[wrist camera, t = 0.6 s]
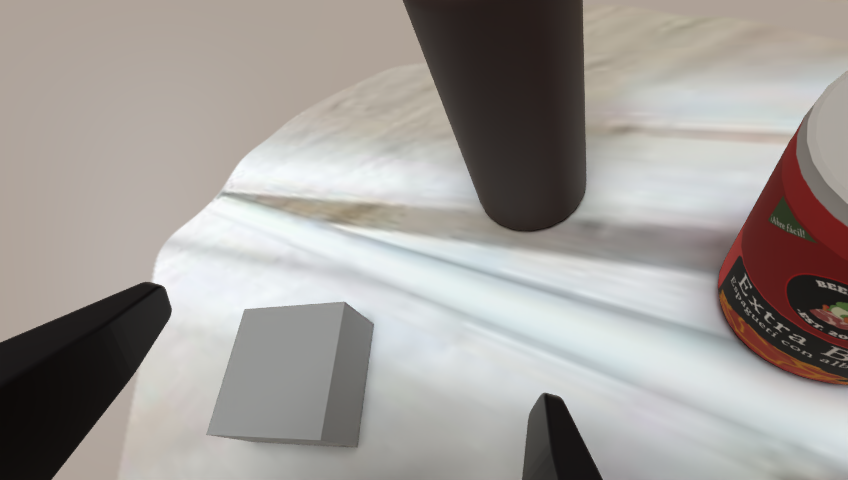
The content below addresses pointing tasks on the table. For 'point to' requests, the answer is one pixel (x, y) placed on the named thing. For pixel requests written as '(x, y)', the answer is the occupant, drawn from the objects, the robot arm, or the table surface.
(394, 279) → the table surface
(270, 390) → the slate block
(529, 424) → the robot arm
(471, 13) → the bottle
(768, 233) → the canned food
